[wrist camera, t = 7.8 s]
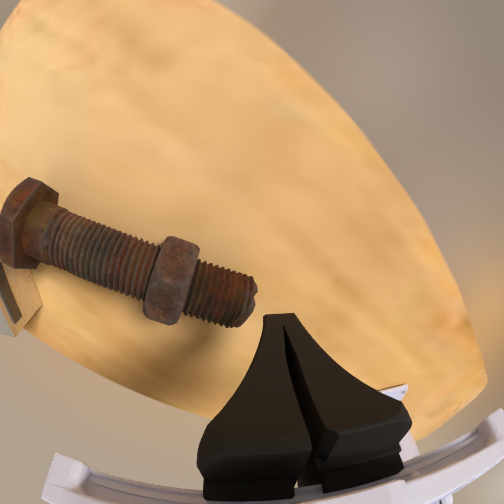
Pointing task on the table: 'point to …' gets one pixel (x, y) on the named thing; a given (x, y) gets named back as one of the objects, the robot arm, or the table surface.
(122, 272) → the bolt
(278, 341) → the robot arm
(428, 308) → the table surface
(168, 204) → the table surface
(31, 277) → the block
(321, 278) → the table surface
